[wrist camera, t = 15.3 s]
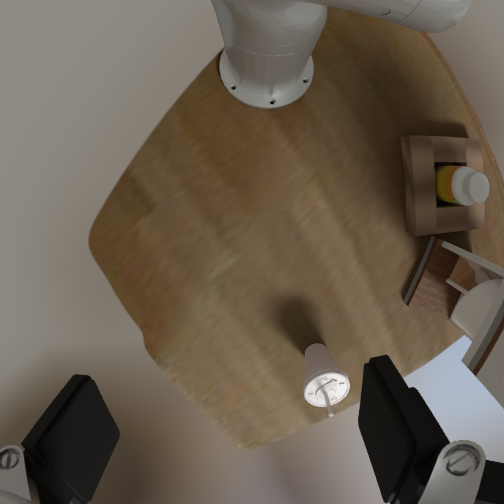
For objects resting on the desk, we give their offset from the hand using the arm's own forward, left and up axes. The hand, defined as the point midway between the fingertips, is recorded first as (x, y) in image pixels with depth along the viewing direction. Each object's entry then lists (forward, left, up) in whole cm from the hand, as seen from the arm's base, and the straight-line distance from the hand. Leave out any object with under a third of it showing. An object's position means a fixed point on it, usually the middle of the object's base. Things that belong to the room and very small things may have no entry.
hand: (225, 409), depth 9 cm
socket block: (-4, +30, -33) cm, 45 cm away
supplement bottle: (-4, +30, -34) cm, 45 cm away
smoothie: (+21, +8, -34) cm, 40 cm away
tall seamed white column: (+11, +30, -34) cm, 46 cm away
